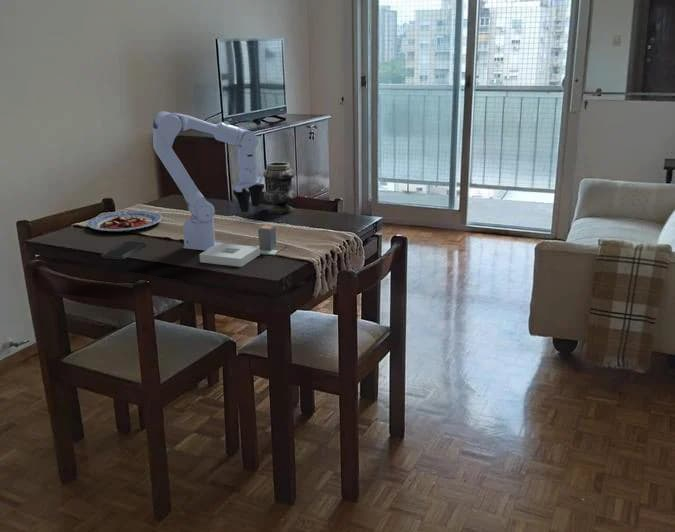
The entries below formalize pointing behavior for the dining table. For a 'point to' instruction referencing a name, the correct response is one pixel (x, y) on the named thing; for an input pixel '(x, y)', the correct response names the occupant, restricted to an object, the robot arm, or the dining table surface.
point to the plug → (267, 237)
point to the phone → (123, 250)
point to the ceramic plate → (123, 221)
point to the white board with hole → (230, 254)
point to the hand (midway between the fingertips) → (250, 208)
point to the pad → (268, 252)
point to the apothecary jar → (279, 186)
